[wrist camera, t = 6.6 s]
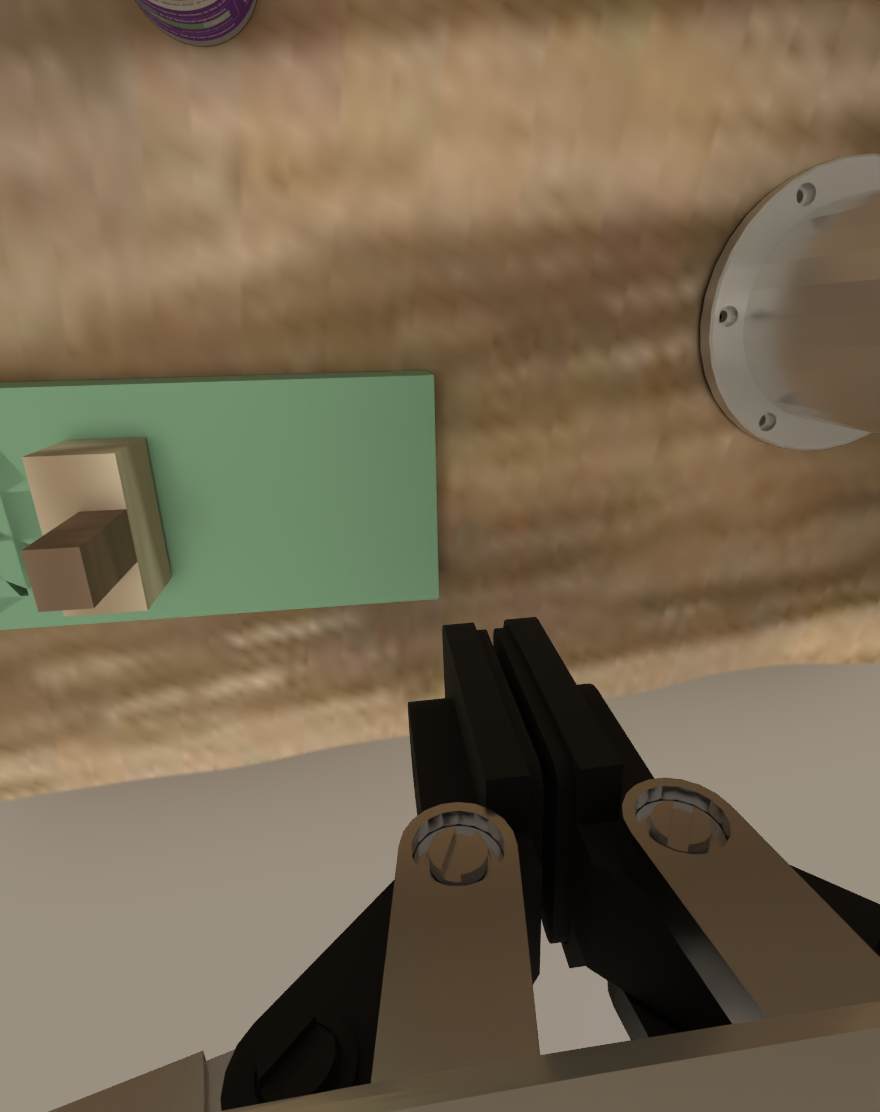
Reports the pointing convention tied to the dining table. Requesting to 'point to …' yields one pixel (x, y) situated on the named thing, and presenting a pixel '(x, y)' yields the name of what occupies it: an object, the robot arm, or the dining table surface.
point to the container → (199, 19)
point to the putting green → (247, 486)
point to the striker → (95, 528)
